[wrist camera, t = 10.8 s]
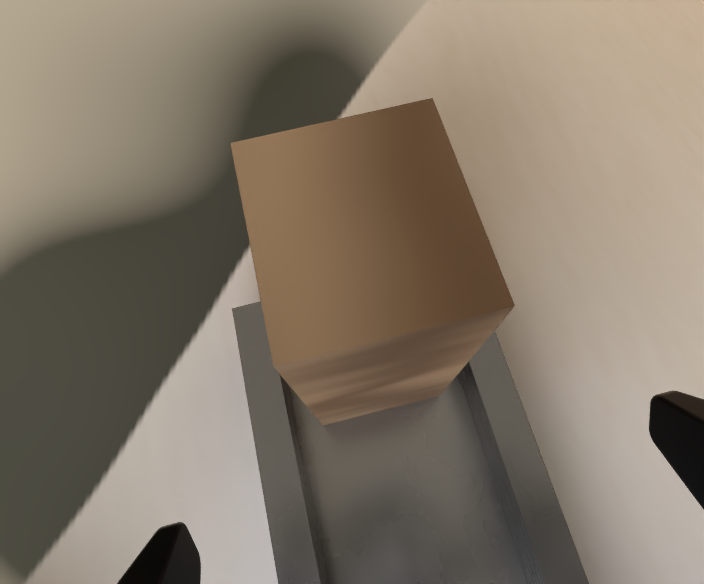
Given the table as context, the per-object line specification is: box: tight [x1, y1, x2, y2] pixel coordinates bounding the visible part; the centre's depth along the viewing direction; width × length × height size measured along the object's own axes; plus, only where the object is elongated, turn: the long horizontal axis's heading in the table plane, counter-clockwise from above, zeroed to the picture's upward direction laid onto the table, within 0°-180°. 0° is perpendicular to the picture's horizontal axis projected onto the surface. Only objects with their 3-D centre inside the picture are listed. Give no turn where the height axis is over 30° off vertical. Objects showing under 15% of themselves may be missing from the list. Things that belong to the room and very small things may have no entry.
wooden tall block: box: [231, 98, 514, 426], centre depth 14 cm, size 4×5×10 cm
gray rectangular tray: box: [232, 302, 589, 584], centre depth 15 cm, size 20×9×3 cm, turn 14°
